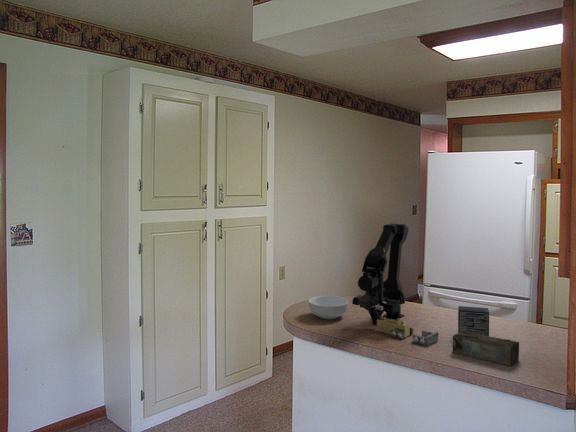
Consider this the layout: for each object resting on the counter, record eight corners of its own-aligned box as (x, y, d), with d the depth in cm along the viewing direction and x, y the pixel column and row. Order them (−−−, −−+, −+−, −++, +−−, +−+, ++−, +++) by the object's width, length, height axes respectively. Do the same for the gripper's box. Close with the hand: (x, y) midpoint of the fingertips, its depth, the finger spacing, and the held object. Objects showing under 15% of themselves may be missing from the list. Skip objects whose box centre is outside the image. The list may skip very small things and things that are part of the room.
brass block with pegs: (382, 328, 182) (382, 315, 182) (409, 335, 173) (409, 321, 173) (377, 330, 180) (377, 317, 179) (404, 337, 171) (404, 323, 171)
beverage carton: (460, 346, 162) (461, 327, 162) (520, 360, 150) (520, 340, 149) (451, 352, 157) (451, 333, 156) (512, 368, 144) (513, 347, 143)
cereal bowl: (300, 316, 199) (300, 300, 199) (327, 309, 211) (327, 293, 210) (329, 325, 187) (329, 307, 186) (356, 316, 198) (356, 300, 197)
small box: (487, 335, 174) (488, 307, 173) (489, 340, 167) (490, 312, 167) (457, 332, 177) (458, 305, 176) (458, 337, 171) (458, 309, 170)
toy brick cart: (402, 331, 179) (402, 323, 178) (439, 340, 168) (439, 332, 168) (389, 336, 172) (389, 328, 172) (427, 346, 162) (427, 338, 162)
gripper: (343, 285, 182) (343, 324, 183) (384, 293, 169) (384, 335, 170) (360, 281, 190) (360, 318, 191) (401, 288, 176) (400, 329, 178)
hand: (375, 325), depth 182 cm, fingers closed
